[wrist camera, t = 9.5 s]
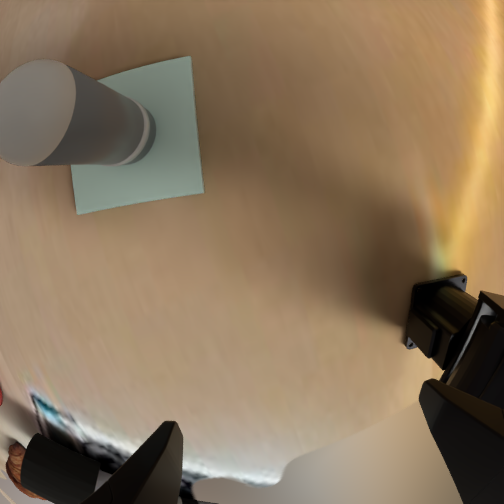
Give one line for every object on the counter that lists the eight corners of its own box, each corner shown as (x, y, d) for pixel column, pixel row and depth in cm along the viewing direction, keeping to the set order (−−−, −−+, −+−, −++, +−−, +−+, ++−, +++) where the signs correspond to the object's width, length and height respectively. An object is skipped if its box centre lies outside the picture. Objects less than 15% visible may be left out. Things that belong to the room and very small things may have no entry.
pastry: (85, 493, 32) (75, 521, 24) (55, 491, 34) (45, 514, 26) (18, 439, 28) (1, 467, 21) (-1, 444, 30) (-15, 466, 22)
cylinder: (154, 95, 17) (49, 21, 5) (160, 159, 18) (42, 148, 6) (97, 112, 17) (-29, 78, 5) (102, 172, 18) (-33, 187, 6)
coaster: (191, 58, 17) (190, 55, 16) (204, 192, 19) (203, 193, 19) (72, 93, 17) (68, 91, 16) (81, 213, 19) (77, 215, 19)
